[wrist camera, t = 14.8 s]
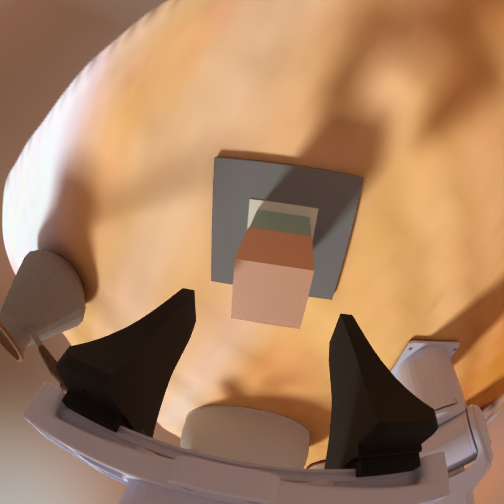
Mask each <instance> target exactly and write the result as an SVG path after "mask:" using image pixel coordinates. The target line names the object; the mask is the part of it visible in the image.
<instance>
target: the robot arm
mask: <svg viewBox="0 0 504 504" xmlns="http://www.w3.org/2000/svg"><path fill="white" fill-rule="evenodd" d="M195 322H196V312H195V293H194V290H189V289H184V288H183V289H181V290H180V291H179V292H177V293H176V294H175V295H173V296H172V297H171V298H170V299H168V300H167V301H166V302H164V303H163V304H162V305H160V306H159V307H158V308H156V309H155V310H154V311H152V312H151V313H149V314H148V315H146V316H145V317H143V318H142V319H140V320H139V321H137V322H135V323H133V324H132V325H130V326H128V327H126V328H124V329H122V330H120V331H117V332H115V333H113V334H111V335H108V336H106V337H103V338H100V339H97V340H94V341H91V342H87V343H83V344H79V345H74V346H70V347H69V348H68V349H67V350H66V352H65V353H64V354H63V356H62V357H61V358H60V360H59V361H58V362H57V363H56V370H57V373H58V374H59V376H60V378H61V379H62V381H63V382H64V384H65V385H66V387H67V388H68V389H69V390H68V391H67V393H66V394H65V393H64V392H63V391H62V390H60V389H59V388H57V387H56V386H54V385H52V384H51V383H49V382H47V381H45V382H44V384H43V385H42V386H41V388H40V389H39V391H38V392H37V394H36V395H35V397H34V398H33V400H32V401H31V403H30V404H29V406H28V407H27V409H26V410H25V412H24V413H23V417H25V419H26V420H27V421H29V423H30V424H32V425H33V426H34V427H35V428H36V429H37V430H38V431H39V432H40V433H42V435H43V436H45V437H46V438H47V439H48V440H50V441H51V442H53V443H54V444H56V445H57V446H59V447H60V448H62V449H63V450H65V451H66V452H68V453H69V454H71V455H73V456H74V457H76V458H77V459H79V460H81V461H82V462H84V463H86V464H87V465H89V466H91V467H93V468H94V469H96V470H98V471H100V472H102V473H103V474H106V475H107V476H109V477H111V478H113V479H115V480H117V481H119V482H121V483H123V484H126V487H125V489H124V492H123V494H122V497H121V499H120V502H119V504H474V497H473V490H474V488H475V487H476V486H477V484H478V483H479V482H480V481H481V479H482V478H483V477H484V475H485V474H486V472H487V471H488V470H489V468H490V466H491V462H492V459H493V454H492V449H491V440H490V435H489V431H488V428H487V424H486V421H485V419H484V416H483V413H482V411H481V409H480V407H479V406H478V405H474V404H470V405H469V406H467V404H466V401H465V398H464V395H463V392H462V389H461V386H460V383H459V380H458V378H457V375H456V372H455V369H454V367H453V364H452V362H451V358H452V356H453V355H454V353H455V352H456V350H457V349H458V348H459V346H460V343H459V342H446V341H417V340H412V341H410V342H409V343H408V344H407V346H406V348H405V349H404V351H403V352H402V354H401V356H400V357H399V359H398V360H397V362H396V364H395V365H394V367H393V368H392V370H391V371H389V370H388V368H387V367H386V366H385V365H384V364H383V362H382V361H381V360H380V358H379V357H378V355H377V354H376V353H375V351H374V350H373V348H372V347H371V345H370V344H369V342H368V340H367V339H366V337H365V336H364V334H363V332H362V331H361V329H360V327H359V326H358V324H357V322H356V320H355V319H354V317H353V316H352V315H348V314H340V316H339V319H338V322H337V324H336V327H335V330H334V332H333V335H332V338H331V340H330V346H329V367H330V380H331V393H332V412H331V425H330V435H329V443H328V450H327V456H326V461H325V467H324V469H304V468H289V467H279V466H270V465H262V464H255V463H248V462H242V461H237V460H231V459H226V458H222V457H217V456H213V455H208V454H204V453H200V452H196V451H193V450H189V449H185V448H182V447H179V446H175V445H172V444H169V443H166V442H163V441H160V440H157V439H154V438H152V437H153V433H154V429H155V425H156V421H157V418H158V414H159V411H160V407H161V404H162V401H163V398H164V395H165V392H166V389H167V386H168V383H169V380H170V378H171V375H172V373H173V371H174V369H175V367H176V365H177V363H178V361H179V359H180V357H181V355H182V353H183V351H184V349H185V347H186V345H187V343H188V341H189V339H190V337H191V334H192V331H193V328H194V325H195ZM474 460H475V462H474V463H473V464H472V465H471V467H469V468H467V469H465V470H463V471H461V472H459V473H457V474H455V475H452V476H450V477H448V473H450V472H452V471H454V470H456V469H458V468H460V467H462V466H464V465H466V464H468V463H470V462H472V461H474Z"/></svg>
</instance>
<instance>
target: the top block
mask: <svg viewBox="0 0 504 504" xmlns="http://www.w3.org/2000/svg"><path fill="white" fill-rule="evenodd" d="M313 274H314V258H313V244H312V237H311V236H304V235H298V234H291V233H284V232H278V231H271V230H264V229H257V228H250V227H248V229H247V231H246V234H245V236H244V238H243V240H242V243H241V245H240V247H239V249H238V252H237V254H236V256H235V258H234V275H233V294H232V314H231V318H234V319H240V320H246V321H252V322H257V323H264V324H270V325H276V326H283V327H290V328H297V329H300V326H301V322H302V319H303V315H304V311H305V307H306V303H307V299H308V295H309V291H310V287H311V283H312V279H313Z"/></svg>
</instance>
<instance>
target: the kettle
mask: <svg viewBox="0 0 504 504" xmlns="http://www.w3.org/2000/svg"><path fill="white" fill-rule="evenodd" d="M309 442H310V433H309V431H308V430H307V429H306V428H305V427H304V426H303V425H301V424H300V423H298V422H296V421H294V420H292V419H290V418H287V417H285V416H282V415H279V414H275V413H272V412H268V411H263V410H259V409H253V408H247V407H239V406H225V405H216V406H205V407H200V408H196V409H194V410H192V411H190V412H189V413H188V415H187V417H186V421H185V424H184V427H183V431H182V435H181V447H182V448H185V449H189V450H193V451H196V452H200V453H204V454H208V455H213V456H217V457H222V458H226V459H231V460H237V461H242V462H248V463H255V464H262V465H270V466H279V467H289V468H304V466H305V463H306V460H307V457H308V451H309Z"/></svg>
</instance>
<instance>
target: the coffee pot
mask: <svg viewBox="0 0 504 504" xmlns="http://www.w3.org/2000/svg"><path fill="white" fill-rule="evenodd" d="M85 308H86V307H85V297H84V288H83V285H82V282H81V280H80V278H79V276H78V274H77V273H76V271H75V269H74V268H73V267H72V266H71V265H70V263H69V262H68V261H66V260H65V259H64V258H63V257H61V256H59V255H56V254H54V253H52V252H49V251H45V250H36V251H31V252H29V253H28V254H27V255H26V257H25V258H24V260H23V262H22V264H21V266H20V268H19V270H18V272H17V274H16V276H15V279H14V281H13V283H12V285H11V288H10V290H9V292H8V295H7V297H6V299H5V302H4V304H3V307H2V310H1V312H0V344H1V345H2V346H3V347H4V349H5V350H6V351H7V352H8V353H9V354H10V355H11V356H12V357H13V358H14V359H16V360H17V361H18V362H22V361H23V359H24V357H23V354H24V351H25V349H26V347H27V346H29V345H31V344H34V343H35V345H36V347H37V348H38V350H39V353H40V354H41V357H42V358H43V360H44V362H45V364H46V366H47V368H48V370H49V372H50V373H51V375H53V376H54V378H55V379H56V380H57V381H58V382H60V388H61V389H62V390H63V391H68V390H69V389H68V388H67V387H66V385H65V384H64V382H63V381H62V379H61V378H60V376H59V374H58V373H57V370H56V363H57V361H56V360H55V359H54V358H53V356H52V355H51V354H50V353H49V351H48V350H47V349H46V348H45V346H44V345H43V344H42V342H41V340H43V339H46V338H49V337H51V336H54V335H56V334H59V333H61V332H64V331H66V330H69V329H71V328H74V327H76V326H78V325H79V324H80V323H81V322H82V320H83V317H84V313H85Z"/></svg>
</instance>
